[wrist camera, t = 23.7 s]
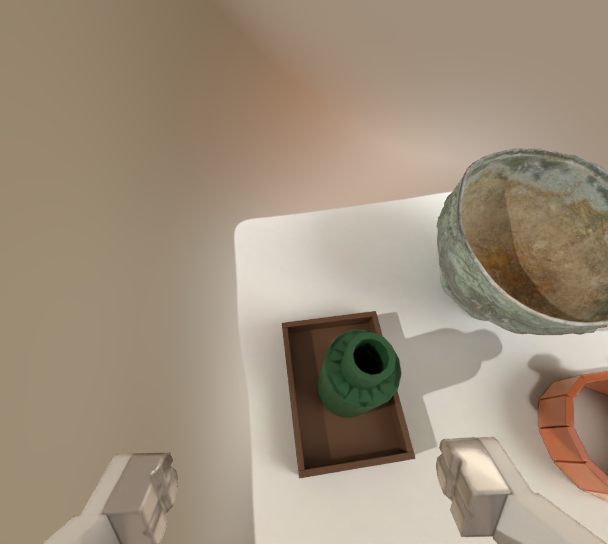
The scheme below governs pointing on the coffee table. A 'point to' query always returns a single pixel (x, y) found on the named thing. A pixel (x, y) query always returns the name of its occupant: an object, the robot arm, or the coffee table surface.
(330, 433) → the tray
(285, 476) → the coffee table surface
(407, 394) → the coffee table surface
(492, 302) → the bowl
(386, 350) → the bottle
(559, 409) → the orange ring
